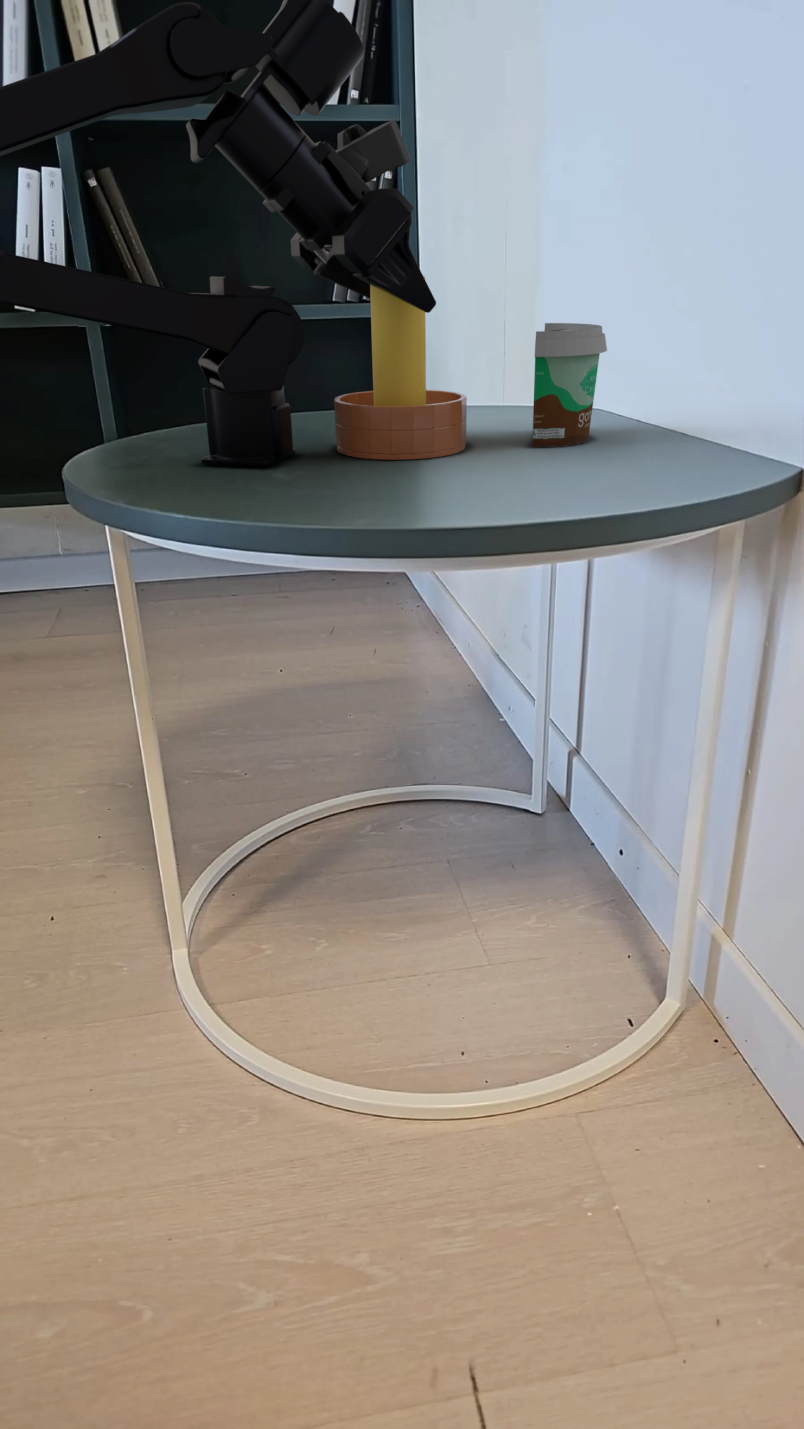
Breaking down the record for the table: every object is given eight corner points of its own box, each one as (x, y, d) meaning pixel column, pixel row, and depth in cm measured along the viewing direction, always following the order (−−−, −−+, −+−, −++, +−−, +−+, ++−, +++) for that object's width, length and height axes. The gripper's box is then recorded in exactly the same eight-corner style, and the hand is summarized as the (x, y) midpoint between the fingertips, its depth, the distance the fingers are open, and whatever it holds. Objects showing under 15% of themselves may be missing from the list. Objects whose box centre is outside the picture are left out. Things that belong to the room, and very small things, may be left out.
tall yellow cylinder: (396, 448, 86) (392, 277, 80) (364, 442, 90) (358, 277, 84) (436, 442, 89) (436, 276, 83) (404, 436, 92) (401, 276, 86)
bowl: (317, 457, 86) (314, 405, 84) (361, 435, 96) (359, 388, 94) (447, 462, 83) (447, 408, 81) (478, 438, 93) (478, 390, 91)
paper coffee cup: (599, 451, 86) (608, 331, 82) (530, 449, 87) (535, 331, 83) (602, 428, 97) (609, 322, 93) (540, 428, 98) (545, 322, 94)
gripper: (383, 58, 68) (520, 229, 76) (316, 97, 84) (435, 235, 92) (282, 185, 69) (428, 341, 77) (236, 200, 85) (360, 328, 93)
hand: (413, 306), depth 85 cm, fingers open, 9 cm apart
